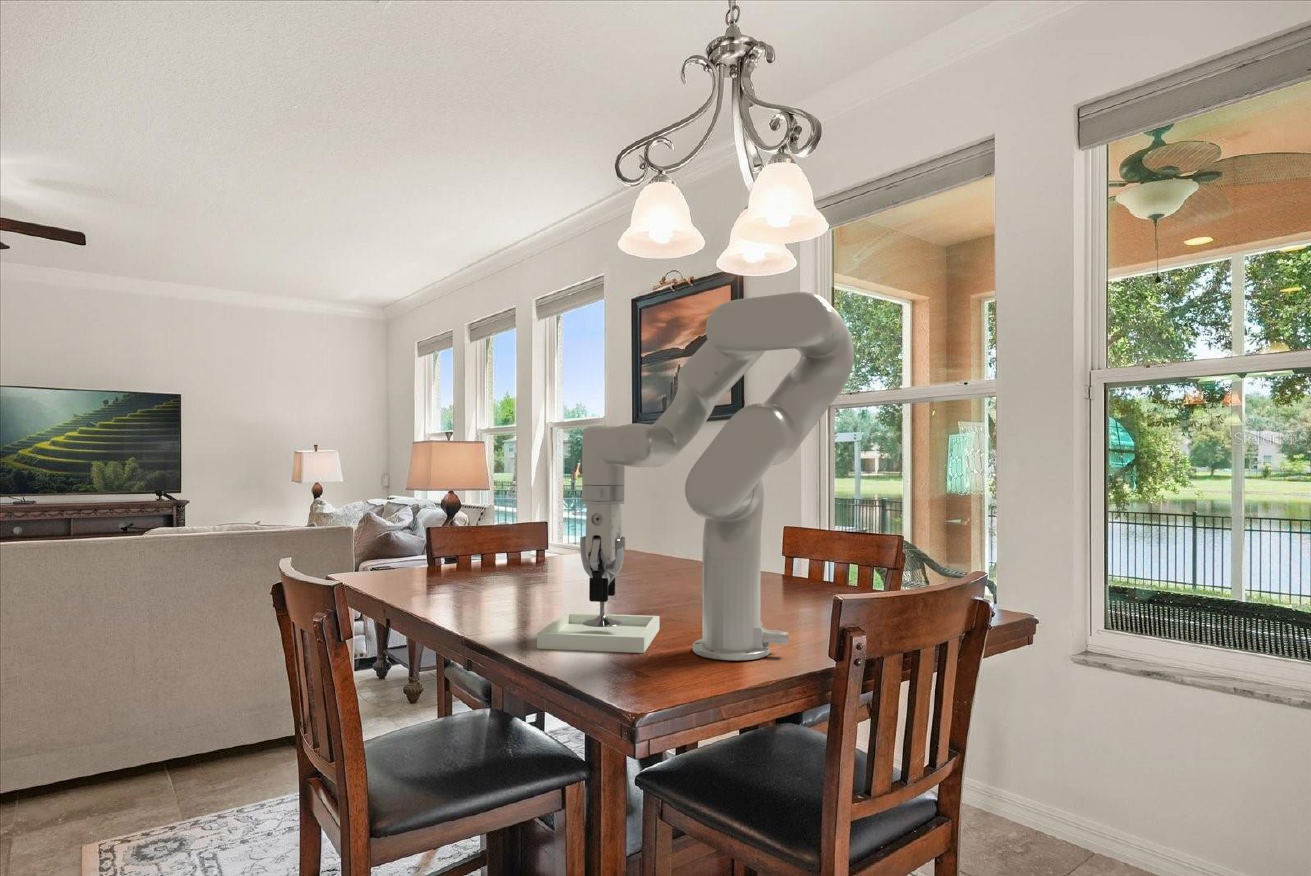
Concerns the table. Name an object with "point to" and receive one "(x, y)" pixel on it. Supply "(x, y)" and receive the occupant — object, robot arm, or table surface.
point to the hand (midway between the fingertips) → (602, 597)
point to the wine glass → (612, 571)
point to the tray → (599, 633)
